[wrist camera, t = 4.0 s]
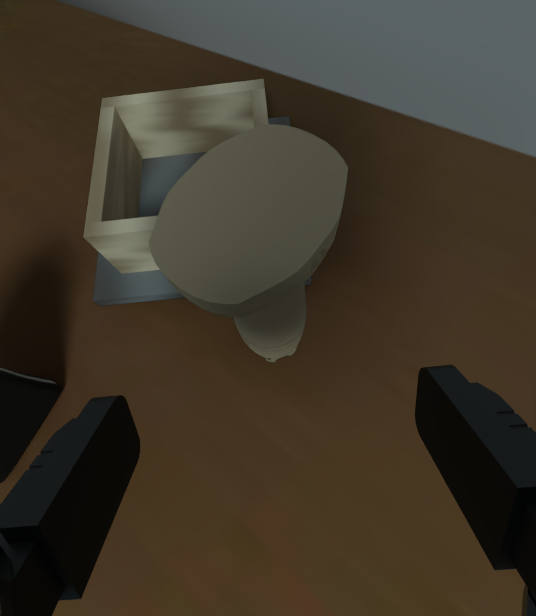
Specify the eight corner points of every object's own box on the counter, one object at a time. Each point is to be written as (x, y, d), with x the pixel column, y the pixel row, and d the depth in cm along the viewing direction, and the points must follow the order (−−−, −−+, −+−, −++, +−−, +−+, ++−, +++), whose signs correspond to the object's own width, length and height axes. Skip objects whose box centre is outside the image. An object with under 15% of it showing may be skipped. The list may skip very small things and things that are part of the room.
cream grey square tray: (288, 125, 31) (288, 56, 25) (310, 284, 25) (315, 241, 20) (117, 145, 31) (79, 82, 26) (100, 305, 26) (46, 269, 20)
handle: (220, 357, 24) (116, 242, 10) (274, 288, 25) (252, 105, 11) (275, 399, 22) (247, 337, 8) (329, 324, 24) (381, 167, 10)
